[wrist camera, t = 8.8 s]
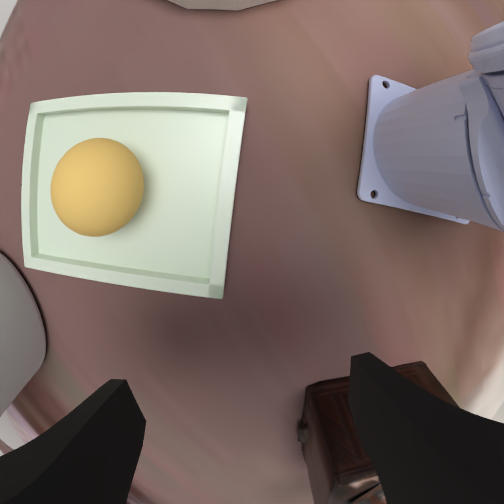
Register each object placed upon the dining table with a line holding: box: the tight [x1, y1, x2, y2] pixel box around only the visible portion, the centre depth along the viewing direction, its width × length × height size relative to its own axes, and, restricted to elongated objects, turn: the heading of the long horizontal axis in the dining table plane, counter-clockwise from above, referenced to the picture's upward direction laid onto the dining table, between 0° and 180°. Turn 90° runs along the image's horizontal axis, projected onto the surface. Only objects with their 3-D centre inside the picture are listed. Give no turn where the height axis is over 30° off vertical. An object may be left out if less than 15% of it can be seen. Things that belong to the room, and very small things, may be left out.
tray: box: [21, 92, 247, 299], centre depth 15 cm, size 14×11×2 cm
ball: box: [50, 138, 144, 237], centre depth 13 cm, size 5×5×5 cm
